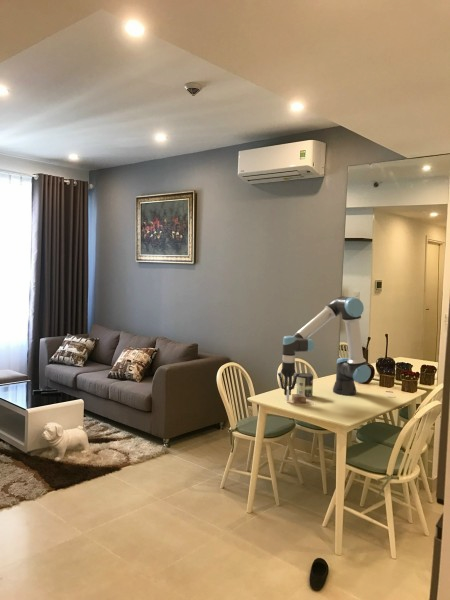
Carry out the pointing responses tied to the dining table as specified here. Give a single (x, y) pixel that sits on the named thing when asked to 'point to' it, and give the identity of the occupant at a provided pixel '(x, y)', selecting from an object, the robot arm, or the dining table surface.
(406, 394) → the dining table surface
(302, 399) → the walnut block
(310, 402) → the letter
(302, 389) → the coffee can
